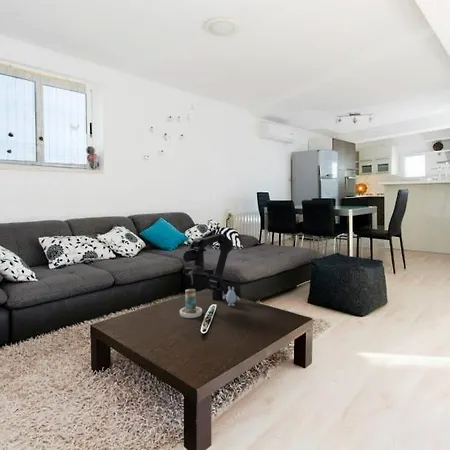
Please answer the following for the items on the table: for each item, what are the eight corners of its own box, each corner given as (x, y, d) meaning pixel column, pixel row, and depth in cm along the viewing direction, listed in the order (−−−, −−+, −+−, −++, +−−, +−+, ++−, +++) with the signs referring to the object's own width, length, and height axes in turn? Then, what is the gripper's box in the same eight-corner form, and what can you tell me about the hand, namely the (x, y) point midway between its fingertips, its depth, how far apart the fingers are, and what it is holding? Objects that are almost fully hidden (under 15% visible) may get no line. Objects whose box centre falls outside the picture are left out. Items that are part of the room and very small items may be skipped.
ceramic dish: (203, 310, 203) (203, 306, 203) (199, 318, 191) (199, 314, 190) (183, 309, 205) (183, 306, 204) (177, 317, 193) (177, 313, 192)
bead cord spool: (196, 310, 201) (195, 288, 200) (197, 314, 195) (196, 291, 194) (184, 311, 200) (184, 289, 199) (185, 315, 194) (185, 292, 192)
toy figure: (241, 304, 211) (240, 285, 210) (238, 308, 206) (238, 288, 204) (224, 303, 215) (224, 284, 213) (221, 306, 209) (221, 287, 207)
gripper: (180, 261, 201) (180, 288, 203) (211, 262, 198) (212, 289, 200) (185, 258, 212) (185, 282, 214) (215, 258, 209) (215, 283, 211)
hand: (199, 284), depth 209 cm, fingers open, 9 cm apart
